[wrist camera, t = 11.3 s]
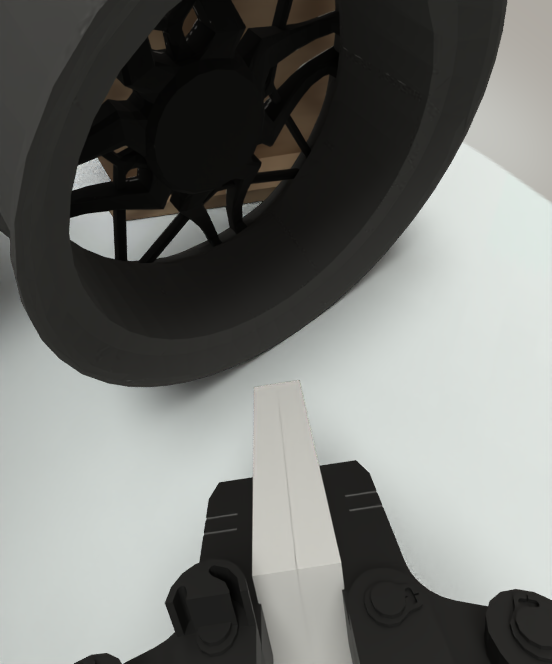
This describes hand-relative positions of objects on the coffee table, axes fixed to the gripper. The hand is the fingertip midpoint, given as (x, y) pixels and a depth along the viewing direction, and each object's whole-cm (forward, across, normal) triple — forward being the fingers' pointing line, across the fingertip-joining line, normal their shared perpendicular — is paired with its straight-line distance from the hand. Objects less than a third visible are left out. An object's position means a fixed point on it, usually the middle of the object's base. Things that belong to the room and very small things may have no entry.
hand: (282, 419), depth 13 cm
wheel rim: (+15, 0, +1) cm, 15 cm away
